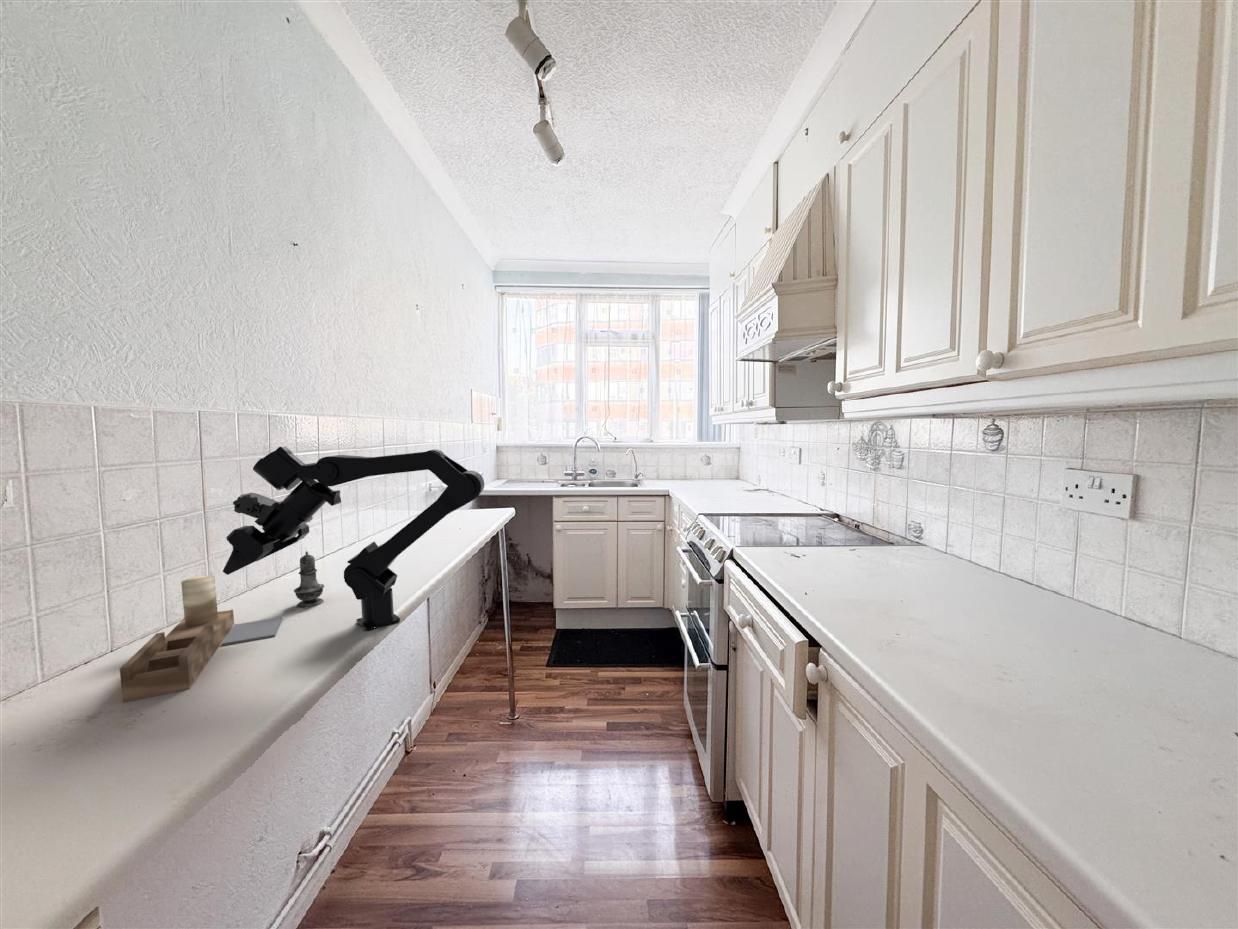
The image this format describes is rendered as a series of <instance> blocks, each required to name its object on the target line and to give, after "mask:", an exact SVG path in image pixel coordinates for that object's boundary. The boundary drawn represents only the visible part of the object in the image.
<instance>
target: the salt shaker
mask: <svg viewBox="0 0 1238 929" xmlns="http://www.w3.org/2000/svg"><path fill="white" fill-rule="evenodd" d="M304 554H305V555H303V556H300V558H299V568H300V569H299V572H298V574H299V575H300V576H299V577H300V585H299V586H298V587H296V588H294V589H293V593H294V594H295V597H296V598H297V599H298V600H300V601H299V602H298V603H296V608H298V607H299V608H298V609H305V608H306V607H307V608H312V607H316V606H319V605H321V603H322V604H323V603H324V602H325V600H324V599H323V598H320V596H321V595H322V594H323V591H324V588H325V584H322V583H319V582H318V579H317V572H318V569H317V568H316V561H315V560H316V559H315V556H314V555H310V554H309V552H308V551H306V550H305V553H304Z"/></svg>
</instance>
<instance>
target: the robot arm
mask: <svg viewBox="0 0 1238 929" xmlns="http://www.w3.org/2000/svg"><path fill="white" fill-rule="evenodd" d="M427 470H428V471H429V472H431V473H432V474H433V475H435V477H437V479H439V481H441V482H442V483H443V484H444V485H446V487H445V489H444V490H443V491H442V493H441V494H440V495H439V496H438V498H437V499H436V500H435V501H434V502H433V503H432V504H430V505H429V506H428V507H426V509H424V510H422V512H421V513H420V514H418V515H417V516H416V517H414V518H413V519H412V520H411V521H410V522H409V523H407V524H406V525H405V526H403V527H402V528H401V529H400V530H399V531H397V532H396V533H395V534H394V535H393V536H391V537H390V538H389V539H388V540H387V541H385V542H383V544H382V543H381V544H380V545H377V542H376V541H373V542H371V543H369V544H367V546H365V547H363V549H362V550H361V551H359V553H358V554H356V555H354V556H353V557H352V558H350V559H349V560H347V564H348V565H347V566H346V567H345V568H344V570H343V580H344V583H345V584H346V586H348V588H350V589H351V591H352V592H353V594H354V596H355V599H356V600H360V602H361V603H360V607H361V617H360V618H357V619H355V621H356V623H357V624H358V625H359V626H360V627H361V628H363V629H364V630H365V631H368V630H367V629H370V630H372V629H371V628H373V629H375V628H374V627H377V628H379V627H383V626H387V625H390V624H395V623H397V622H400V621H401V617H399V616H398V615H397V614H395V612H394V596H393V595H394V594H393V588H392V587H393V586H395V584H396V582H397V578H398V574H397V573H395V572H394V570H392V569H390V568H389V567H390V566H391V565H392V564H393V563H394V561H395V560H396V559H397V558H398V556H400V555H401V554H402V553H403V552H404V551H406V549H407V548H409V547H410V546H411V545H413V544H414V543H415V542H416V541H418V540H419V539H420V538H422V536H424V534H426V533H427V532H428V531H430V530H431V529H432V528H433V527H435V525H437V524H438V523H439V522H440V521H441V520H443V519H444V518H445V517H446V516H448V515H449V514H451V513H452V512H454V511H457V510H458V509H460V508H462V507H464V506H466V505H467V504H469V503H471V502H472V501H474V500H476V499H477V498H478V497H479V496H480V495H481V493H482V492H483V491H484V489H485V481H484V479H485V478H483V476H482V474H480V473H479V472H477V471H475V470H468V469H467V468H465V467H464V466H463V465H461V464H460V463H458V462H457V461H455V460H454V459H452V458H451V457H449V456H447V455H446V454H445V453H444V452H443V451H442V450H439V449H430V450H427V451H421V452H419V451H418V452H408V453H401V454H400V453H399V454H390V455H383V456H382V455H381V456H373V457H372V456H361V455H347V454H337V455H330V456H324V457H321V458H320V459H319V458H318V460H317V461H316V462H311V463H310V462H309V463H304V462H303V461H302V460H301V459H300V458H299V457H297V456H296V455H295V454H294V453H293V452H292V450H291V449H290V448H288V447H287V446H278V447H277V449H275V450H274V451H271V452H269V453H268V454H267V455H265V456H264V457H261V458H260V459H258V461H257V462H256V463H255V464H254V466H253V467H252V471H253V472H255V473H256V474H257V475H258V476H259V477H261V478H262V479H264V481H266V482H267V483H269V485H271V486H272V487H273V488H274V489H276V490H277V491H281V490H284V489H285V490H286V491H290V490H292V489H293V490H292V491H290V493H289V494H288V495H286V497H285V498H283V500H279V501H277V500H275V499H273V498H270V497H268V496H265V495H261V494H259V493H257V492H248V493H242V494H240V495H239V496H238V497H237V498H236V500H234V501H233V502H232V504H233V505H234V509H233V511H234V512H235V513H237V514H243V515H247V516H249V517H252V518H254V519H255V521H254V522H255V523H256V525H258V526H259V527H262V528H261V529H262V530H263V532H262V531H261V530H259V529H258V528H257V527H256V526H254V525H244V526H241V527H237V528H234V529H232V530H231V532H230V533H229V534H227V536H226V541H227V542H228V543H229V544H230V545H231V546H232V551H231V554H230V556H228V558H227V559H228V560H227V561H226V563H225V565H224V568H223V570H222V572H223V573H224V574H225V575H227V576H228V575H231V574H232V573H234V572H237V571H240V570H241V569H243V568H245V567H247V566H249V565H251V564H253V563H255V562H259V561H260V560H262V559H264V558H267V557H268V556H271V555H272V554H275V553H276V552H279V551H281V550H283V549H286V548H287V547H290V546H292V545H293V544H296V543H297V542H299V541H301V540H303V539H304V538H305V537H306V536H307V535H308V534H309V533H310V526H309V525H308V524H307V523H310V522H311V521H312V520H313V518H314V517H313V516H314V515H315V514H316V513H317V512H318V511H319V510H320V509H321V508H322V507H323V506H324V505H325V504H326V502H327V504H328V505H330V506H332V507H334V506H336V505H338V504H341V503H342V499H341V498H342V497H341V490H339V489H338V490H334V489H332V488H330V487H335V486H339V485H342V484H346V483H350V482H353V481H357V480H361V479H363V478H368V477H373V476H374V477H375V476H382V475H391V474H399V473H400V474H401V473H407V472H409V473H411V472H418V471H419V472H420V471H427Z"/></svg>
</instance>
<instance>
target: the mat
mask: <svg viewBox="0 0 1238 929" xmlns="http://www.w3.org/2000/svg"><path fill="white" fill-rule="evenodd" d="M283 620H284V616H278V617H274V618H273V617H272V618H266V619H261V620H254V621H248V622H241V623H236V624H235V623H234V625H233V627H232V628H231V630H230V631H229V633H228V634H227V635H226V637H225V638H224V640H223V641H222V643H221V646H228V645H234V644H239V643H240V644H241V643H245V642H251V641H257V640H261V639H267V638H273V637H276V635H277V633H278V630H279V628H280V626H281V624H282V622H283Z"/></svg>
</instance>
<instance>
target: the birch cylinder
mask: <svg viewBox="0 0 1238 929" xmlns="http://www.w3.org/2000/svg"><path fill="white" fill-rule="evenodd" d="M216 587H217V586H216V577H215V576H214V575H201V576H194V577H190V578H187V579H185V580H182V581H181V594H182V596H181V597H182V603H183V605H182V606H183V615H184V617H183V619H184V618H185V625H188V626H193V625H200V624H205V623H208V622H211V621H214V620H216V619H217V618H218V612H219V611H218V600H217V591H216Z"/></svg>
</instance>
